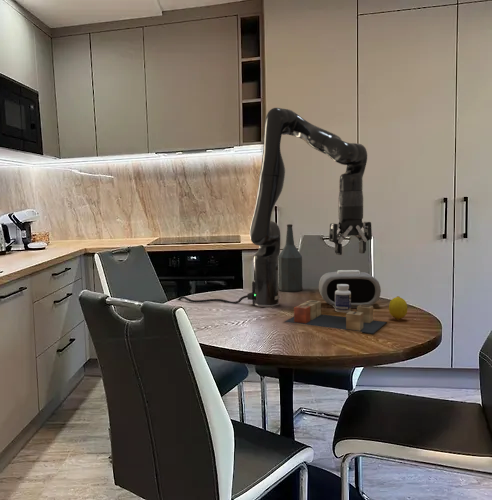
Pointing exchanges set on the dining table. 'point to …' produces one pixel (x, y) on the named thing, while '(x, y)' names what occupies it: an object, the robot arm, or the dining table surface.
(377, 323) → the word mat
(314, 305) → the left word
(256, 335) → the dining table surface
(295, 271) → the bottle
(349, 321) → the letter block row
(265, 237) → the robot arm
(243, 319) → the dining table surface
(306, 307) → the red block
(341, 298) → the pill bottle
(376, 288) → the alarm clock
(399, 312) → the lemon
